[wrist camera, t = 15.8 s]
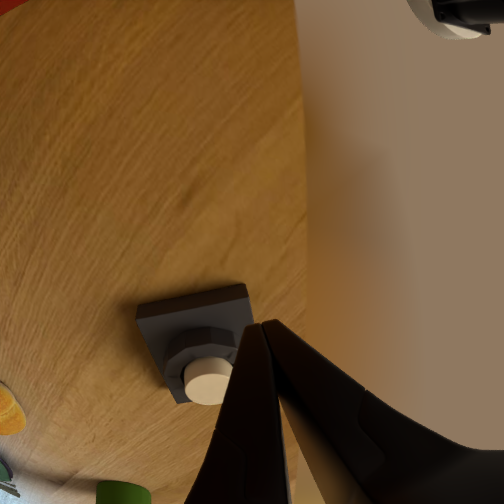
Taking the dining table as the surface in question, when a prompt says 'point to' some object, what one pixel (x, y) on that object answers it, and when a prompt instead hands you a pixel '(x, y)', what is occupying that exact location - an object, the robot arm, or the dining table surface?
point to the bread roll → (10, 413)
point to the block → (194, 331)
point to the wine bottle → (121, 493)
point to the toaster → (9, 5)
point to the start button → (207, 380)
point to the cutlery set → (7, 478)
